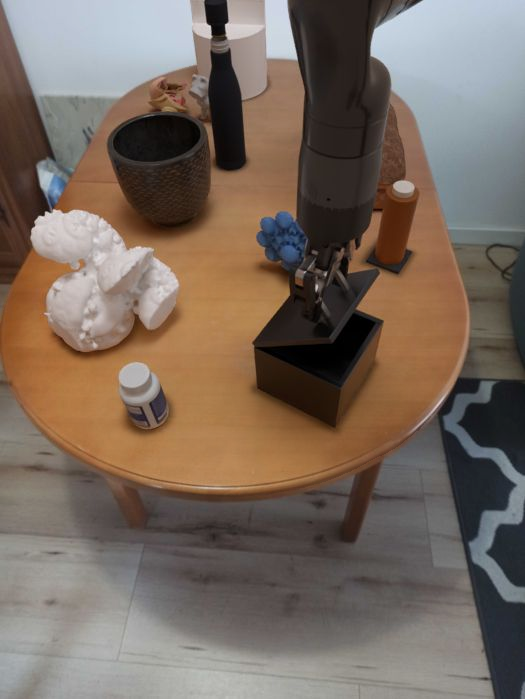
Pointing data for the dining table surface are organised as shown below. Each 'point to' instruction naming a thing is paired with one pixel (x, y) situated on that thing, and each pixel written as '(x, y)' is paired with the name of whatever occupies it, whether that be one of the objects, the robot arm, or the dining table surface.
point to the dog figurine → (200, 93)
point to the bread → (390, 159)
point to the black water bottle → (224, 92)
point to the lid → (334, 313)
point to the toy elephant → (166, 95)
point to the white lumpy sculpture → (100, 281)
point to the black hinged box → (321, 369)
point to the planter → (162, 166)
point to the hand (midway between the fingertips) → (323, 300)
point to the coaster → (393, 268)
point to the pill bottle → (142, 396)
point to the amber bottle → (396, 222)
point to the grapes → (282, 240)
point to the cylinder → (236, 43)
